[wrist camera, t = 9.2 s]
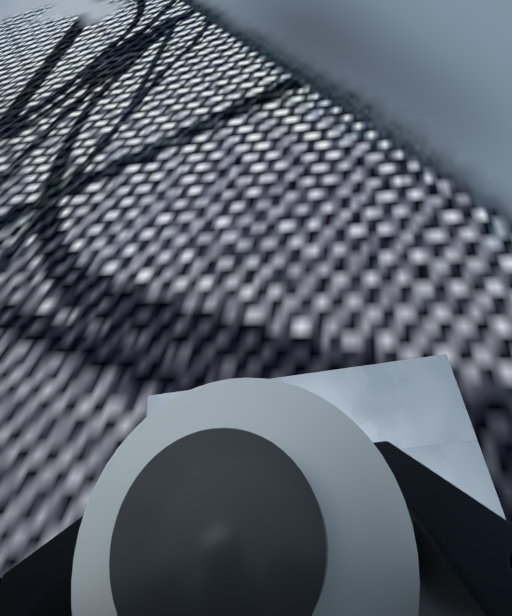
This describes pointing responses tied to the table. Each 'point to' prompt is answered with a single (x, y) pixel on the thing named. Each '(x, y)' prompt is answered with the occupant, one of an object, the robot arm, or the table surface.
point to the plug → (246, 513)
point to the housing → (405, 416)
